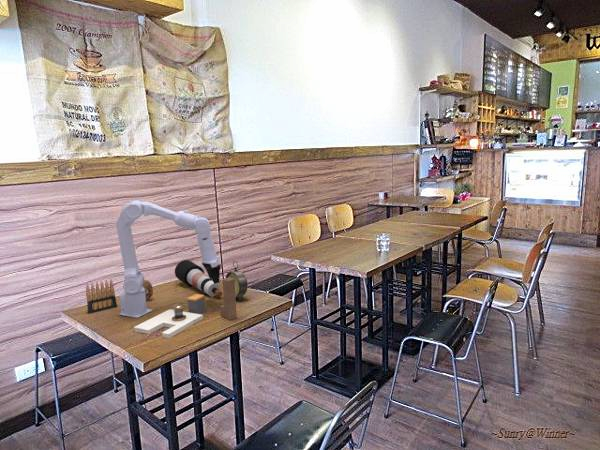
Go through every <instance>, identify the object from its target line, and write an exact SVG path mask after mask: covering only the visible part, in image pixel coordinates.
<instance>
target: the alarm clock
mask: <svg viewBox="0 0 600 450" xmlns="http://www.w3.org/2000/svg"><path fill="white" fill-rule="evenodd" d="M235 263H236V265H237V267H235V265H234V264H235ZM232 266H233V267H234V270H233V271H229V272H228V271H227V273H226V274H225V278H229V277H230V278H233V279H234V283H235V298H239V299H240V301H241V302H243V296H245V295H246V293H247V291H248V280H247V277H246V275H245V273H243V272H242V271H241V270H238V268H239V264H238V262H237V261H236V260H233V262H232Z"/></svg>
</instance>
